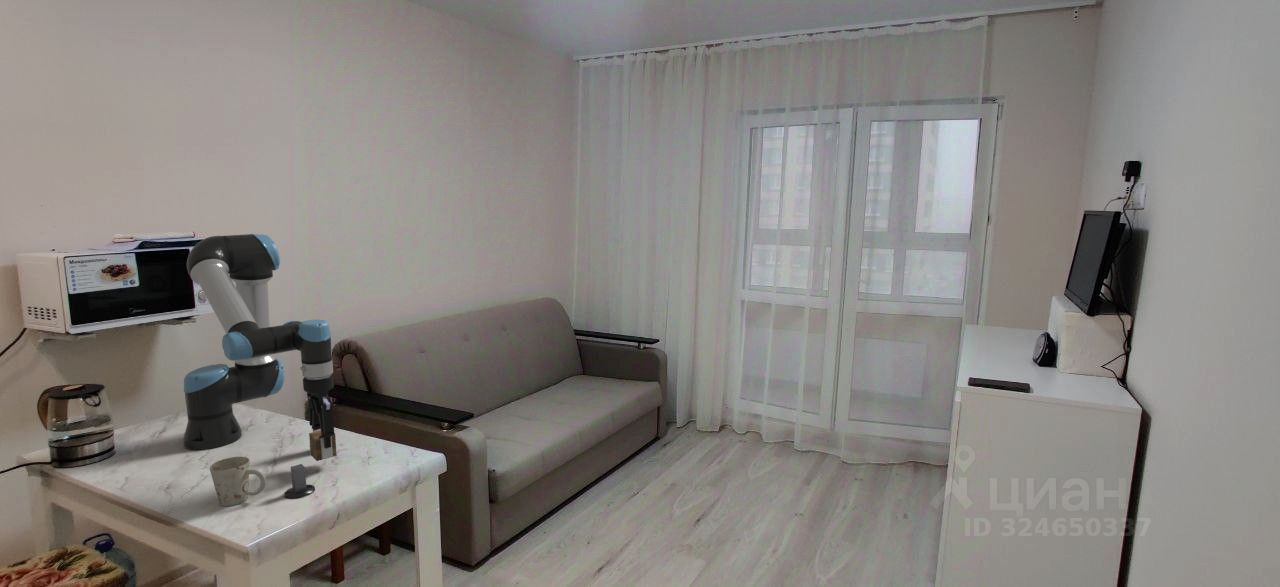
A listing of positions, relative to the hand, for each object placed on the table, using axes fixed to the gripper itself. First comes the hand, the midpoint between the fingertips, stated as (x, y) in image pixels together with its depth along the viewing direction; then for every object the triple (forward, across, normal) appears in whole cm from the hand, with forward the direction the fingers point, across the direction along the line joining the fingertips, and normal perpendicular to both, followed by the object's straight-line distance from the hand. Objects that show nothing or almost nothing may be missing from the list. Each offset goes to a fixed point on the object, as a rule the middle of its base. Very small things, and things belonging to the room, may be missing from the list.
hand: (323, 454), depth 175 cm
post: (+3, +12, -10) cm, 16 cm away
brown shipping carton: (0, 0, 0) cm, 0 cm away
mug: (+4, +6, -22) cm, 23 cm away
